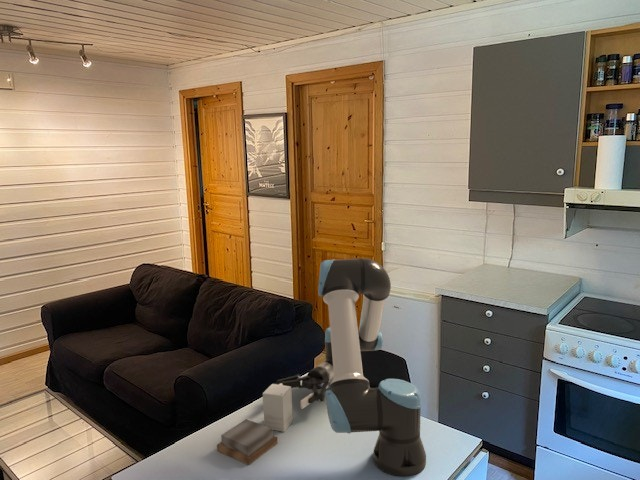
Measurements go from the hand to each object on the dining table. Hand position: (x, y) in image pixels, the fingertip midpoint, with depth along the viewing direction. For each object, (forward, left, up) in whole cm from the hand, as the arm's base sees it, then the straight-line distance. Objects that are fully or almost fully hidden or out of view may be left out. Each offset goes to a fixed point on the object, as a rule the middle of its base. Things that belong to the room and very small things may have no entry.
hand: (285, 399), depth 164 cm
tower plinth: (-1, +20, -7) cm, 21 cm away
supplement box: (-1, +5, -7) cm, 8 cm away
